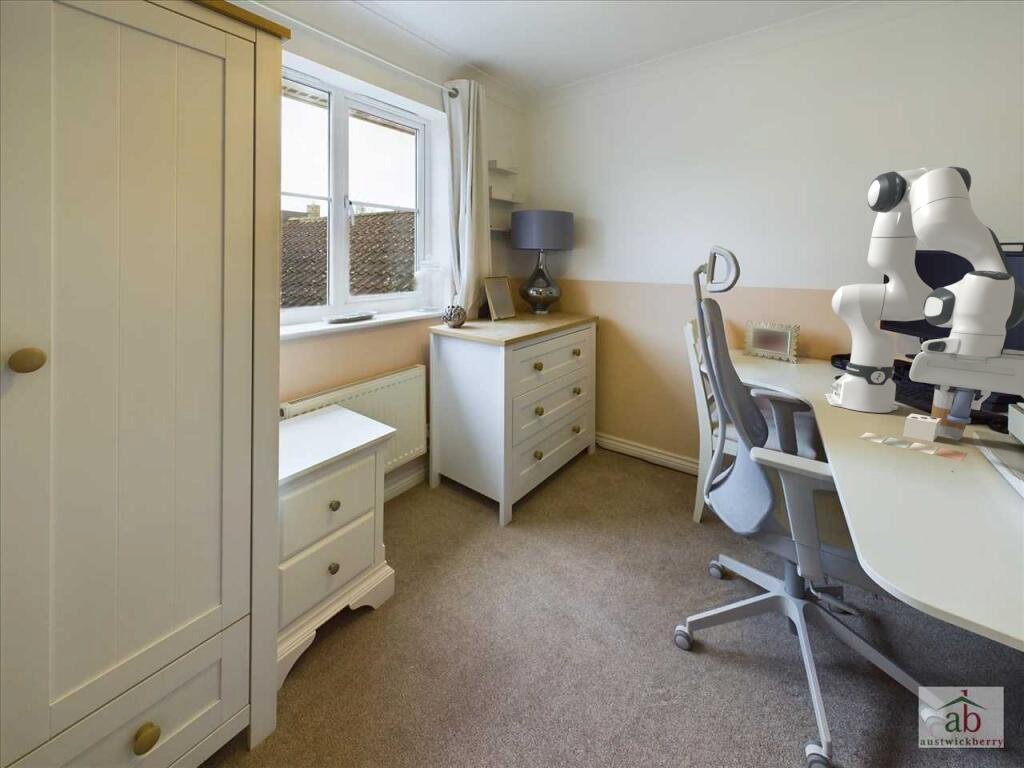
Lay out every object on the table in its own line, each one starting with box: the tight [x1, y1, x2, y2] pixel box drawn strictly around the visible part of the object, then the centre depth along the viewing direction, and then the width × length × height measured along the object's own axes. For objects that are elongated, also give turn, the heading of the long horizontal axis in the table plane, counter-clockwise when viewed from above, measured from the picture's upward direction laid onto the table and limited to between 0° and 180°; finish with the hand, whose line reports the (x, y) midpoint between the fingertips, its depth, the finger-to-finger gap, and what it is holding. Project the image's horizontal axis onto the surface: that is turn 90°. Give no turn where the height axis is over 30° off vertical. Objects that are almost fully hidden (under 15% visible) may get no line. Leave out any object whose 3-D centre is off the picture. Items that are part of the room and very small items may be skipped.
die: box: [902, 413, 941, 442], centre depth 125 cm, size 6×6×6 cm
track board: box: [858, 432, 967, 461], centre depth 118 cm, size 22×8×1 cm, turn 41°
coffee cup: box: [930, 384, 978, 441], centre depth 127 cm, size 8×8×15 cm
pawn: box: [947, 387, 975, 425], centre depth 110 cm, size 4×4×9 cm
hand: (961, 407), depth 110 cm, fingers closed on pawn, 3 cm apart
